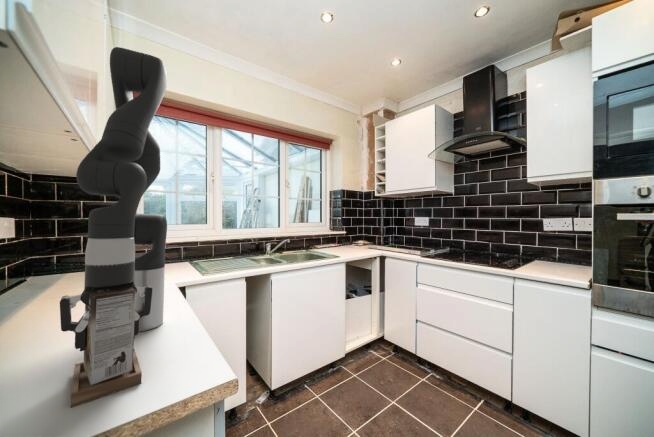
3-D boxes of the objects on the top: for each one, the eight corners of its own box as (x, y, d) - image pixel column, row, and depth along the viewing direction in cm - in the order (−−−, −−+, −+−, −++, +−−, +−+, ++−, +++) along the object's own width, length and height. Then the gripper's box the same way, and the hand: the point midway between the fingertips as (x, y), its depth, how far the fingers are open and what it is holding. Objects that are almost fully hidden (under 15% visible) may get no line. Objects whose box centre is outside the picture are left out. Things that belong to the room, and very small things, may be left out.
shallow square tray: (74, 374, 51) (75, 364, 51) (134, 357, 57) (134, 348, 57) (70, 407, 42) (71, 395, 42) (141, 383, 48) (141, 372, 48)
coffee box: (81, 366, 50) (84, 286, 50) (122, 353, 55) (124, 280, 55) (89, 386, 44) (92, 295, 44) (133, 370, 49) (136, 288, 49)
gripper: (56, 267, 42) (52, 365, 42) (157, 259, 52) (155, 339, 52) (60, 261, 48) (57, 347, 47) (151, 255, 57) (149, 327, 57)
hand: (108, 342), depth 50 cm, fingers closed on coffee box, 7 cm apart
